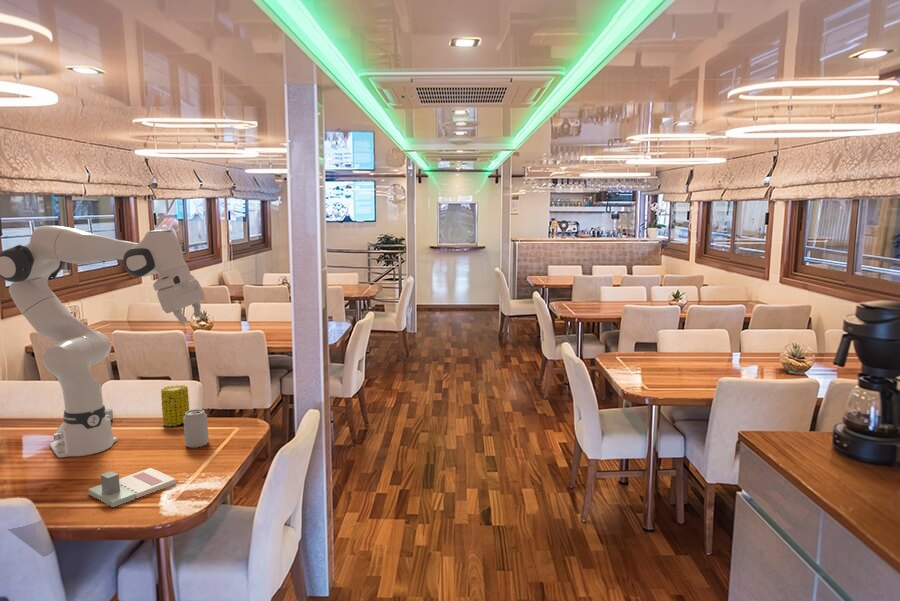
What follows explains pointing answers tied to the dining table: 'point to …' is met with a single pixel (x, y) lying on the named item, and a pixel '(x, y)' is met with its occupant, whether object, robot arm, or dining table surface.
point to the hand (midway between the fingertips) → (191, 319)
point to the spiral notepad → (146, 482)
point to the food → (174, 404)
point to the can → (195, 428)
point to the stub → (111, 490)
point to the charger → (109, 413)
